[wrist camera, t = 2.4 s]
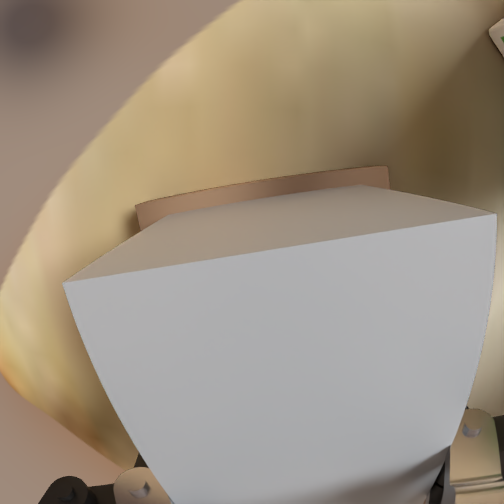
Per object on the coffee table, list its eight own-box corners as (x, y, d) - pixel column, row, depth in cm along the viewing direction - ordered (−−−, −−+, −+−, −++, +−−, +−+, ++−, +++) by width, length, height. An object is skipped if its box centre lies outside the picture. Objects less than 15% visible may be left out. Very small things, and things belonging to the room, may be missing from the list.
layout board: (373, 166, 10) (450, 168, 6) (373, 431, 13) (401, 499, 9) (146, 201, 10) (81, 225, 6) (221, 457, 14) (216, 530, 9)
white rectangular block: (361, 184, 9) (496, 213, 3) (361, 447, 12) (396, 545, 6) (167, 215, 9) (61, 282, 4) (238, 467, 12) (236, 573, 7)
